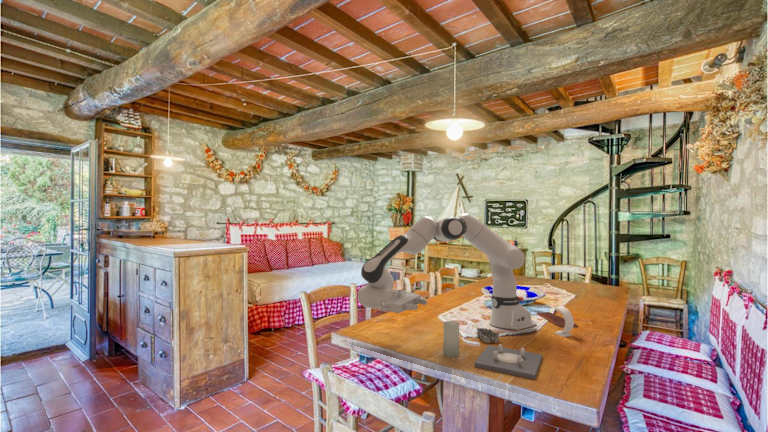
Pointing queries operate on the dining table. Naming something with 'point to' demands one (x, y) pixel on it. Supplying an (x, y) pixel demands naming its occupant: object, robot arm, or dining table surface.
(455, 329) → the canister
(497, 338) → the egg carton
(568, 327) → the headphone stand
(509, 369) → the peg stand
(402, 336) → the dining table surface
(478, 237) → the robot arm
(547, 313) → the wooden tablet
